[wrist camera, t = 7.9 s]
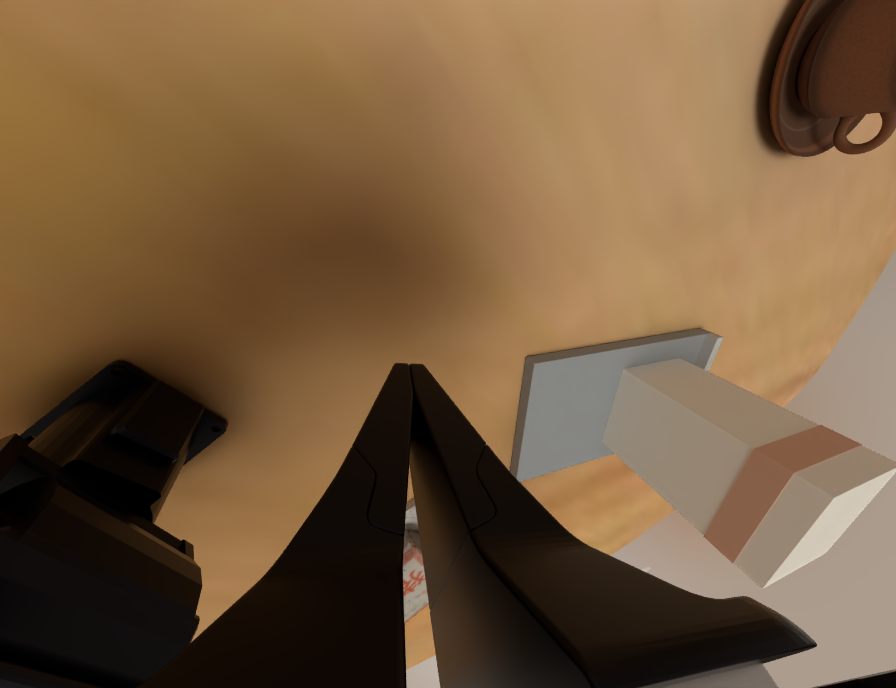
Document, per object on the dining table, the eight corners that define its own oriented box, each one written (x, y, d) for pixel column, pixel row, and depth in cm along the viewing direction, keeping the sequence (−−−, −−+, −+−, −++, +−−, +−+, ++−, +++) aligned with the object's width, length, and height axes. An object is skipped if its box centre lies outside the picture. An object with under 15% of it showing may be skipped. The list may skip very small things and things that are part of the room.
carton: (601, 442, 32) (761, 589, 21) (622, 368, 29) (834, 497, 17) (653, 427, 35) (825, 552, 23) (680, 357, 31) (902, 464, 19)
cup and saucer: (869, 91, 26) (1003, 68, 21) (754, 191, 27) (858, 193, 22) (891, -108, 20) (1091, -211, 15) (740, 28, 21) (882, -25, 15)
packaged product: (340, 696, 30) (248, 687, 25) (338, 635, 34) (258, 616, 29) (489, 576, 30) (429, 541, 25) (469, 529, 34) (414, 491, 29)
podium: (509, 473, 32) (521, 491, 30) (525, 356, 26) (541, 370, 24) (660, 430, 38) (677, 442, 36) (700, 328, 32) (723, 336, 30)
